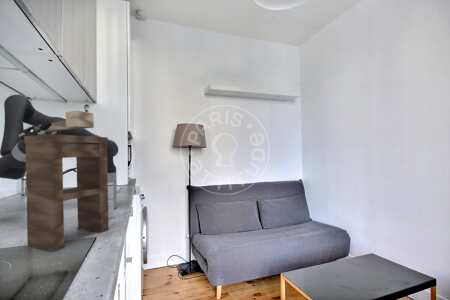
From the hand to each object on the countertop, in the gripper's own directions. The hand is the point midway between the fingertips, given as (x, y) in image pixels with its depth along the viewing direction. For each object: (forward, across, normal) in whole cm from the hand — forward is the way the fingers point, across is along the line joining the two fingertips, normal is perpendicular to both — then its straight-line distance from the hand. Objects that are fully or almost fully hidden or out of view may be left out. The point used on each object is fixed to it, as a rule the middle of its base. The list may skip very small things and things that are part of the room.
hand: (54, 122), depth 80 cm
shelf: (-8, +4, -40) cm, 40 cm away
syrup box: (-15, -14, -36) cm, 41 cm away
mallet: (+3, 0, -5) cm, 6 cm away
